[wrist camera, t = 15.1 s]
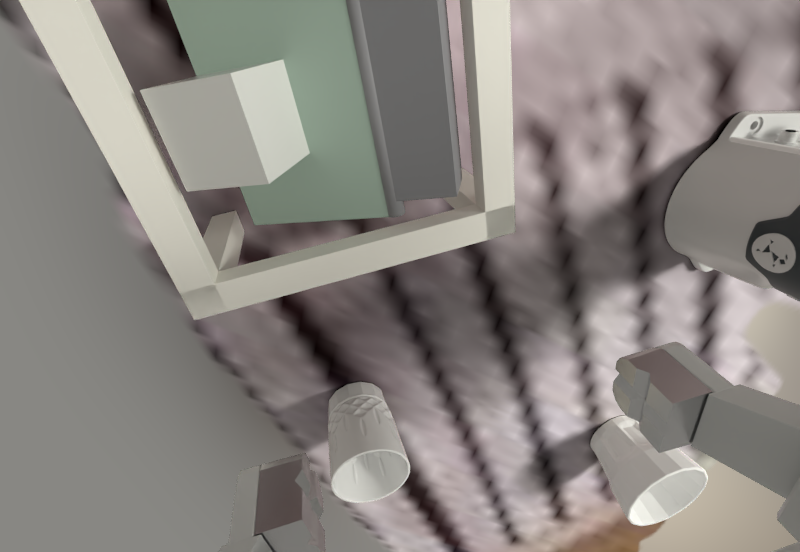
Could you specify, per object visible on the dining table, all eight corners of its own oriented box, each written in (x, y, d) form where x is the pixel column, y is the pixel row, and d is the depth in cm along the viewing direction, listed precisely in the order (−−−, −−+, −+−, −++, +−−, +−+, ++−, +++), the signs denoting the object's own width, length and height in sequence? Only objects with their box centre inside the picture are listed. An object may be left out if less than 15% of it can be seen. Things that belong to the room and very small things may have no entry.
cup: (600, 468, 70) (649, 534, 61) (564, 445, 64) (613, 514, 54) (659, 423, 67) (720, 483, 58) (628, 393, 61) (690, 456, 52)
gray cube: (283, 59, 22) (230, 73, 18) (309, 153, 24) (269, 183, 20) (204, 74, 23) (139, 90, 19) (238, 161, 26) (186, 191, 22)
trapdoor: (437, -87, 19) (426, -99, 17) (463, 193, 27) (458, 213, 24) (194, -21, 23) (156, -24, 21) (275, 207, 31) (253, 225, 28)
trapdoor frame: (419, -107, 28) (505, -202, 17) (450, 179, 38) (515, 232, 27) (92, -54, 25) (-51, -127, 14) (221, 237, 35) (194, 320, 25)
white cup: (312, 392, 46) (318, 470, 38) (378, 367, 47) (398, 438, 38) (336, 434, 50) (346, 513, 42) (395, 411, 51) (418, 484, 43)
